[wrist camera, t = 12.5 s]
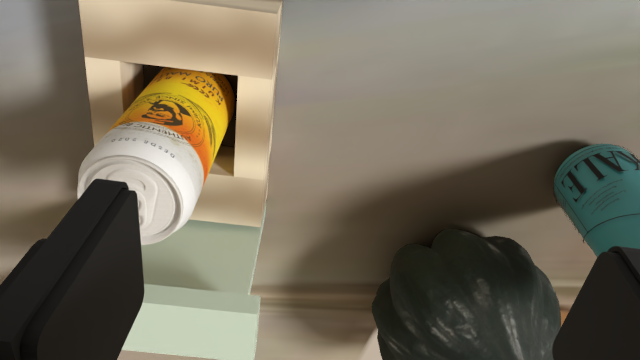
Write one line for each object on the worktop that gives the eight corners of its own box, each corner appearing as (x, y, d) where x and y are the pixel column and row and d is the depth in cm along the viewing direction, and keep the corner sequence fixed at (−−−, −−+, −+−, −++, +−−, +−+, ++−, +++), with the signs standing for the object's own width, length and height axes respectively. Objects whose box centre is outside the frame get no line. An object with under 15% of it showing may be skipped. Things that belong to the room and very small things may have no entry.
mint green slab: (107, 156, 42) (4, 288, 29) (280, 176, 43) (257, 314, 30) (111, 198, 45) (16, 339, 31) (276, 216, 45) (253, 362, 32)
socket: (105, -25, 35) (77, -12, 32) (283, -2, 36) (277, 13, 32) (121, 179, 44) (101, 209, 40) (266, 195, 44) (260, 227, 40)
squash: (335, 372, 47) (478, 505, 37) (347, 231, 40) (529, 350, 30) (436, 305, 55) (574, 400, 45) (461, 179, 48) (631, 259, 38)
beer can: (240, 63, 38) (193, 161, 25) (232, 138, 41) (186, 259, 28) (156, 48, 38) (65, 140, 25) (154, 124, 41) (71, 241, 28)
